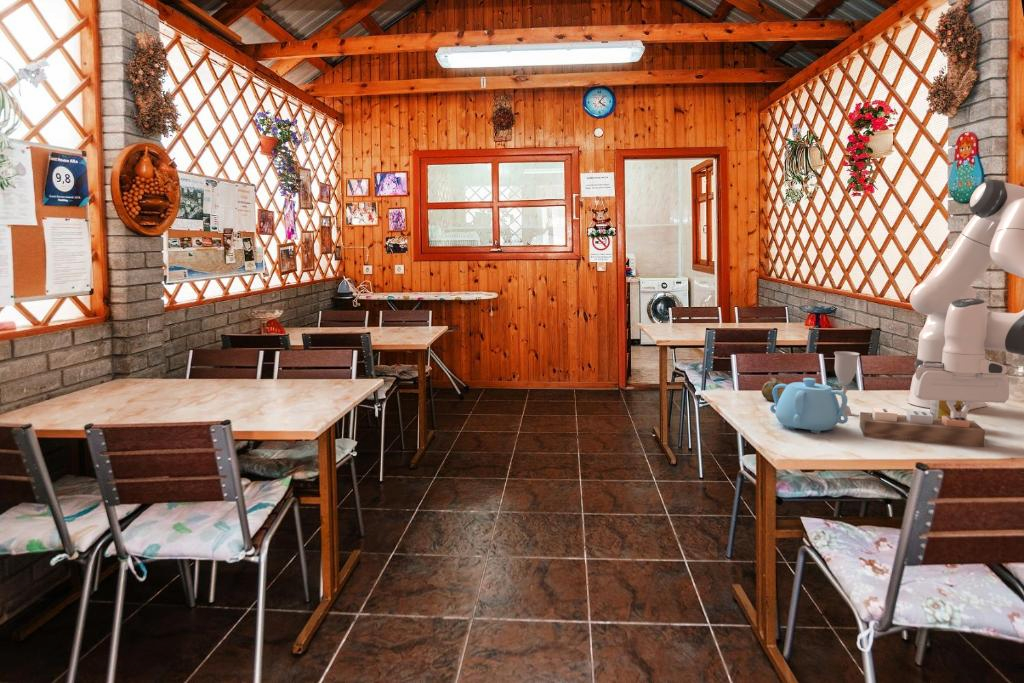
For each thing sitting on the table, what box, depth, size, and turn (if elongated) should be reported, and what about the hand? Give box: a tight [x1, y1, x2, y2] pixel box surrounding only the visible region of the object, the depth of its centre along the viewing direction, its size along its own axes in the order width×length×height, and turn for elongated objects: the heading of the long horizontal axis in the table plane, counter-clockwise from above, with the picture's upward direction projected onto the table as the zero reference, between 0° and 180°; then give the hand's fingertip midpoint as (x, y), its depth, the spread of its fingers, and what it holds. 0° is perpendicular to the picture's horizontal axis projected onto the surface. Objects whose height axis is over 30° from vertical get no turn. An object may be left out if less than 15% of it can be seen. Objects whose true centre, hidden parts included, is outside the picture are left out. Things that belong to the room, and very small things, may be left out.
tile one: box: [871, 407, 898, 422], centre depth 175 cm, size 5×5×3 cm
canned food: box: [929, 400, 965, 418], centre depth 183 cm, size 8×8×12 cm
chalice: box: [833, 350, 860, 416], centre depth 196 cm, size 7×7×18 cm
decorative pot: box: [769, 377, 849, 434], centre depth 180 cm, size 16×16×14 cm
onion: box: [761, 376, 785, 402], centre depth 214 cm, size 8×8×8 cm
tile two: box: [906, 410, 933, 424], centre depth 172 cm, size 5×5×3 cm
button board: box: [858, 411, 986, 448], centre depth 172 cm, size 26×11×4 cm, turn 68°
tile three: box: [942, 416, 971, 427], centre depth 169 cm, size 5×5×3 cm
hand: (958, 418), depth 168 cm, fingers closed
